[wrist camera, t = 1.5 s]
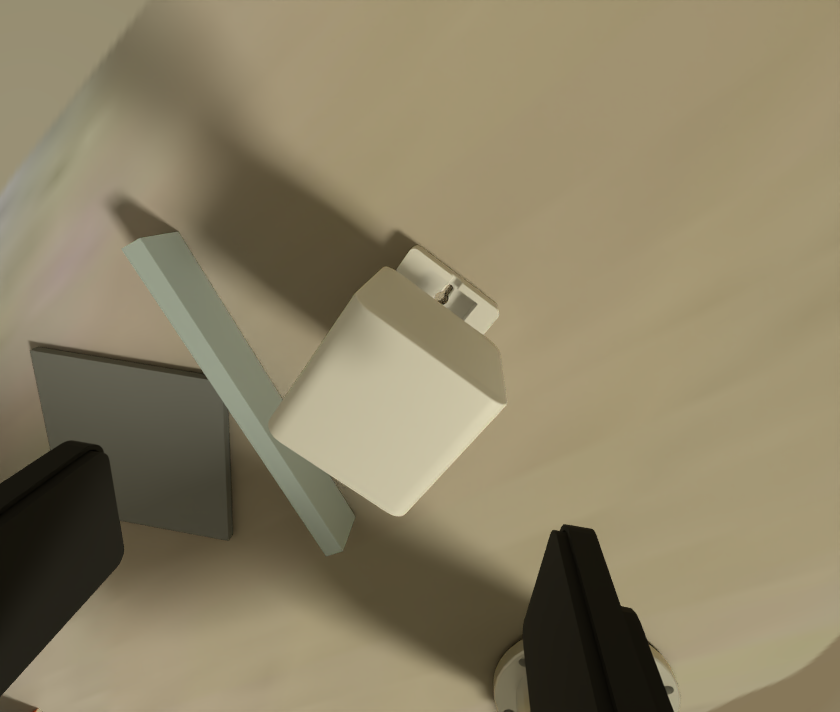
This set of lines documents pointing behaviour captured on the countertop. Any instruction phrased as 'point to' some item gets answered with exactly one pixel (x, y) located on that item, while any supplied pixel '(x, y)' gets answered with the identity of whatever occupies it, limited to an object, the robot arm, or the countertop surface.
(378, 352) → the security camera
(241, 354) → the low wall
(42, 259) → the countertop surface
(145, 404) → the mat
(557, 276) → the countertop surface
